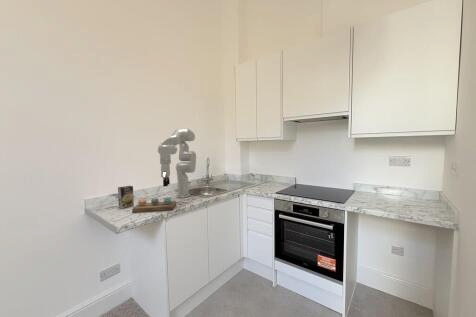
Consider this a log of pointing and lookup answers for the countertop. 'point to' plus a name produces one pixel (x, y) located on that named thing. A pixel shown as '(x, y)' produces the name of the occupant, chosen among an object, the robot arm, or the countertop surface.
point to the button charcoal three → (154, 201)
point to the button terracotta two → (142, 201)
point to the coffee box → (125, 197)
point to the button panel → (154, 207)
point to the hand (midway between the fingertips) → (166, 185)
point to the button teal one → (167, 200)
